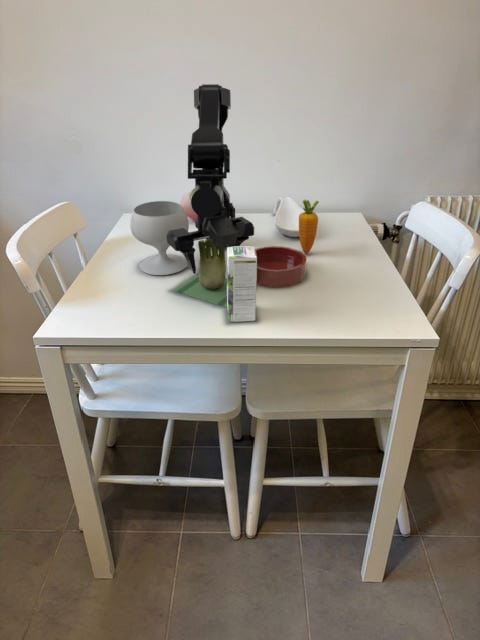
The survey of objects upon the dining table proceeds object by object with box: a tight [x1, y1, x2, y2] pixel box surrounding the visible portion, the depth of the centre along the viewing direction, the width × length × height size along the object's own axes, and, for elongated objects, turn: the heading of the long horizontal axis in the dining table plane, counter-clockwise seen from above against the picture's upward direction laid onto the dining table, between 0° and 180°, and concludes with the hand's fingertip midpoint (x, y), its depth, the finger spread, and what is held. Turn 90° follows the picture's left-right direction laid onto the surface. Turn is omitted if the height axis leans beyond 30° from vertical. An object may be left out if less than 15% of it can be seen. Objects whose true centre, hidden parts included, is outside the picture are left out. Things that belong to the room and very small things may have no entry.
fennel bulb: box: [197, 239, 227, 290], centre depth 108 cm, size 6×5×12 cm
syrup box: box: [226, 245, 257, 323], centre depth 98 cm, size 6×6×14 cm
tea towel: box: [172, 272, 227, 308], centre depth 112 cm, size 15×11×1 cm
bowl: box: [255, 245, 307, 288], centre depth 117 cm, size 15×15×4 cm
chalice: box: [130, 200, 190, 276], centre depth 119 cm, size 14×14×15 cm
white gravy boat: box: [273, 196, 306, 238], centre depth 144 cm, size 24×12×7 cm, turn 10°
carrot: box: [298, 198, 320, 255], centre depth 124 cm, size 5×5×15 cm
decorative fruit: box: [180, 188, 197, 221], centre depth 148 cm, size 9×8×10 cm
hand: (212, 268), depth 109 cm, fingers open, 9 cm apart
